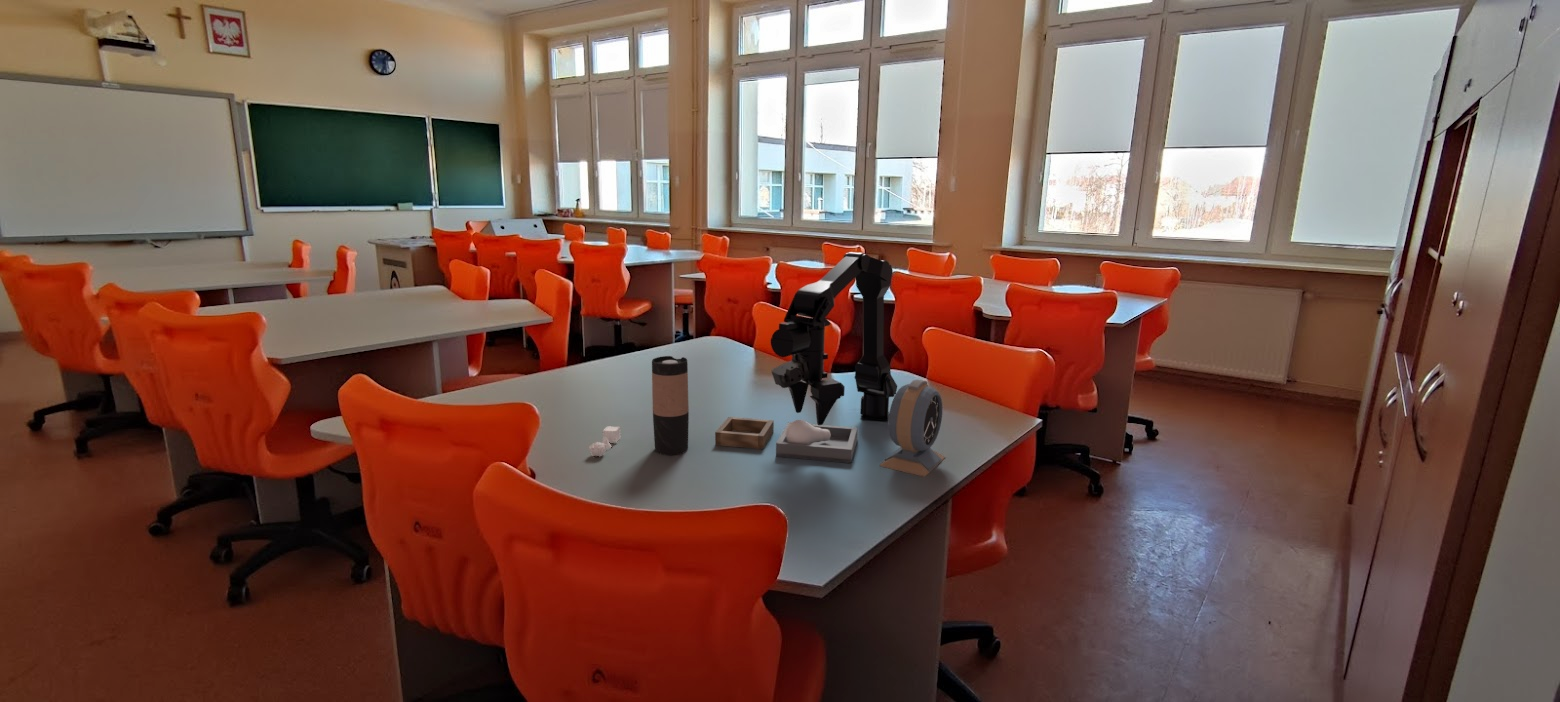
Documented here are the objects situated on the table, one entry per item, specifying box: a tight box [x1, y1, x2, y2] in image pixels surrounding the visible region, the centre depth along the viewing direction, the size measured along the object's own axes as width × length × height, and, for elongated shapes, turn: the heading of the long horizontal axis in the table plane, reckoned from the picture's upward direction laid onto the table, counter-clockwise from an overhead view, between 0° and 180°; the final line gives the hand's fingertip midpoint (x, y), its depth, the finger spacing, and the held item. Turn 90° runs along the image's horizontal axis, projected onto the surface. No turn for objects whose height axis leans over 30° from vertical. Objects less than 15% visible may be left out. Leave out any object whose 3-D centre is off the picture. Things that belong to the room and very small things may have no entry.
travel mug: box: [651, 355, 690, 456], centre depth 150 cm, size 8×8×20 cm
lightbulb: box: [786, 419, 831, 444], centre depth 153 cm, size 6×6×11 cm
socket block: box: [714, 416, 775, 450], centre depth 159 cm, size 11×11×3 cm
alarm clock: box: [879, 379, 946, 477], centre depth 146 cm, size 14×10×18 cm
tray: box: [775, 421, 859, 464], centre depth 154 cm, size 16×14×3 cm
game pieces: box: [589, 425, 622, 457], centre depth 152 cm, size 12×3×3 cm, turn 175°
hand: (808, 418), depth 152 cm, fingers open, 9 cm apart
